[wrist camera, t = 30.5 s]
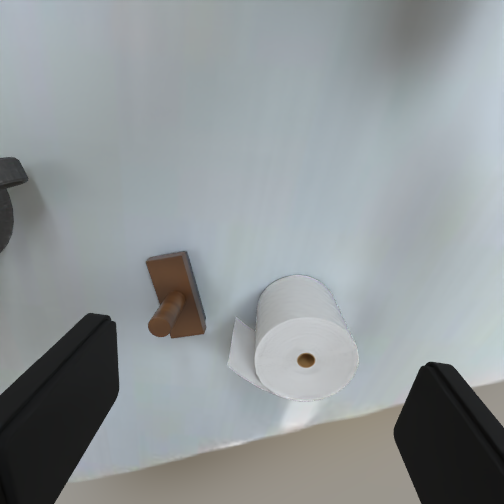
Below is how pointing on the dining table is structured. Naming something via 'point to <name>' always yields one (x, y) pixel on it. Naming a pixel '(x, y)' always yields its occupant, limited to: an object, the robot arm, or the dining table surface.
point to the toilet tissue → (295, 342)
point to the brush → (175, 297)
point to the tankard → (5, 176)
